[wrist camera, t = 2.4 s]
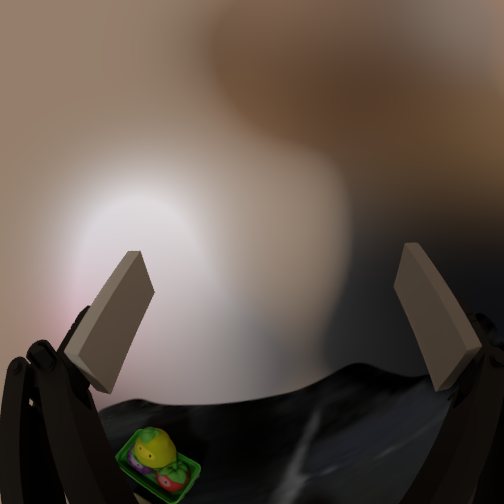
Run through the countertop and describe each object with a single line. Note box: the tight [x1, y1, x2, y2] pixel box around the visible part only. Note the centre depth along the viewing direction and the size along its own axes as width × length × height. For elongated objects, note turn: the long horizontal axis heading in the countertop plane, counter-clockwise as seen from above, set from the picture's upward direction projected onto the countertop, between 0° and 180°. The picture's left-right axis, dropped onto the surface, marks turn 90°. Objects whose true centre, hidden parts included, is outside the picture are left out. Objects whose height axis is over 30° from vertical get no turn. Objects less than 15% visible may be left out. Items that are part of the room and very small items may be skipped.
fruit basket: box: [115, 427, 201, 504], centre depth 26 cm, size 11×9×11 cm
